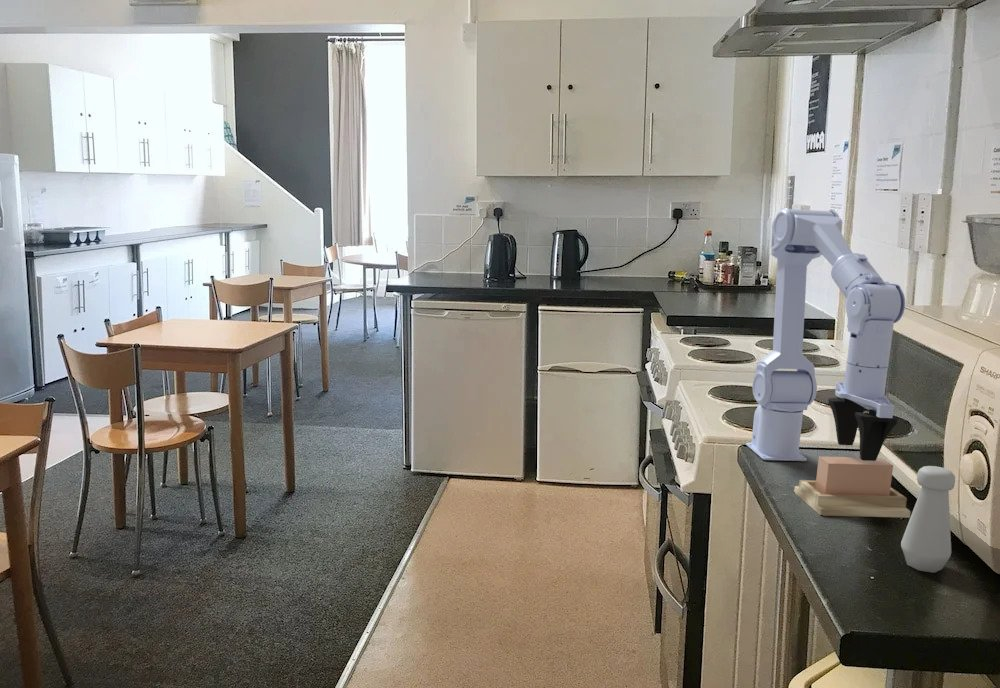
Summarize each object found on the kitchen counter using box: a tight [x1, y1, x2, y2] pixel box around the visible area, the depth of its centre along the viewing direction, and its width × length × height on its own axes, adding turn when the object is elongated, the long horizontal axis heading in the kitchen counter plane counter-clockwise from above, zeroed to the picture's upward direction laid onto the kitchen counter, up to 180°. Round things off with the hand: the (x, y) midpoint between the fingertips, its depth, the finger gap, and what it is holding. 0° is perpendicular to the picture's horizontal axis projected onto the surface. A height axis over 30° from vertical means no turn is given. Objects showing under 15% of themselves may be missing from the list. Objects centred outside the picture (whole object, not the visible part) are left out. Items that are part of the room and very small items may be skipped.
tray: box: [793, 479, 912, 519], centre depth 134 cm, size 10×14×2 cm
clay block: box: [815, 456, 894, 496], centre depth 134 cm, size 4×10×6 cm, turn 93°
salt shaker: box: [900, 465, 956, 574], centre depth 112 cm, size 6×6×13 cm
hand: (856, 452), depth 133 cm, fingers open, 7 cm apart
